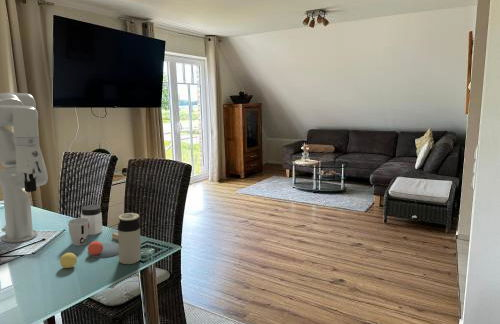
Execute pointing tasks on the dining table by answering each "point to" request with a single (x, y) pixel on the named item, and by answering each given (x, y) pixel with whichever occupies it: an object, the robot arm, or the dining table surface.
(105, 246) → the slate mark
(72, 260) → the ochre ball
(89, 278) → the dining table surface
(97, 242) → the red ball
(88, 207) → the jar
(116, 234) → the wooden stick
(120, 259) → the travel mug
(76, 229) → the cup
